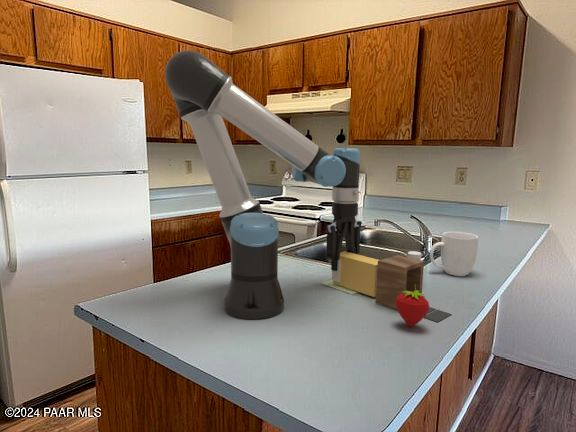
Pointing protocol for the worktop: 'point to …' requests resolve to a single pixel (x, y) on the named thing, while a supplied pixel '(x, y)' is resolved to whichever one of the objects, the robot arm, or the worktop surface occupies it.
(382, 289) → the tunnel
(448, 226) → the worktop surface
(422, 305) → the strawberry
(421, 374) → the worktop surface
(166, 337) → the worktop surface
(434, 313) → the dark grey flat pad
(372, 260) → the tan rectangular block
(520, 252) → the worktop surface
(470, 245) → the mug
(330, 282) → the pad
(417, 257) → the pill bottle
